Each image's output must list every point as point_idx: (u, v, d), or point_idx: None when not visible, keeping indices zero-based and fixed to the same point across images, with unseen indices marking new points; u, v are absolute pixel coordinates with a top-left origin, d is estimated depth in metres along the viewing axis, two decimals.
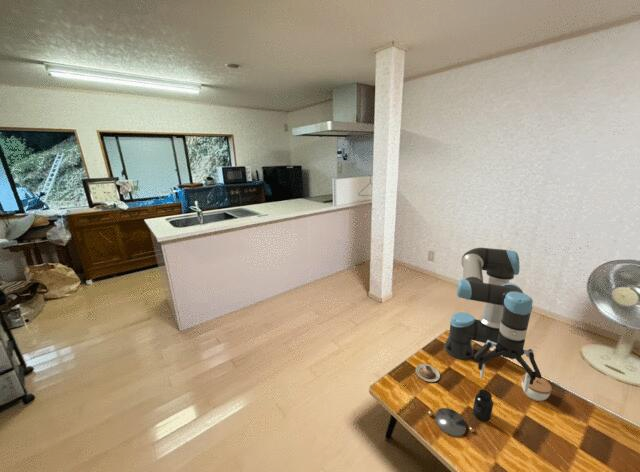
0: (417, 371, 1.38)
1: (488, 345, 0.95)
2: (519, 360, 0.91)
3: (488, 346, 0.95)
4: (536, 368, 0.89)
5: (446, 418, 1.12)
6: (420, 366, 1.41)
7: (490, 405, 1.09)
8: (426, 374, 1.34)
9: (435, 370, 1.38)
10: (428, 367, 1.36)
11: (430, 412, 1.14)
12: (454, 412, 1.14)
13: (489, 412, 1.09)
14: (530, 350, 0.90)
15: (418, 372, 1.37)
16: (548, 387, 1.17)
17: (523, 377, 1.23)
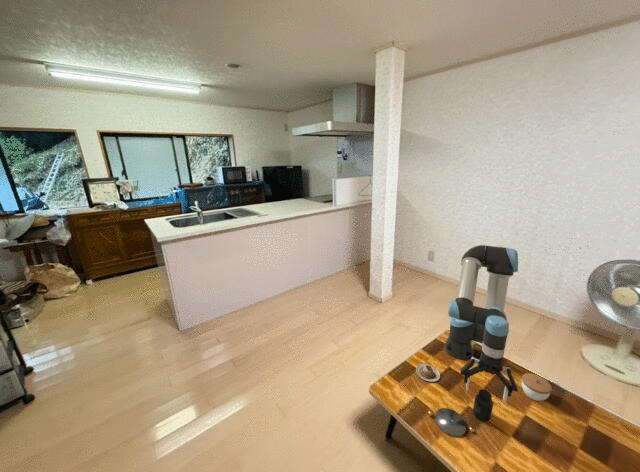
0: (417, 371, 1.38)
1: (472, 361, 1.08)
2: (498, 375, 1.04)
3: (472, 362, 1.08)
4: (513, 382, 1.03)
5: (446, 418, 1.12)
6: (420, 366, 1.41)
7: (490, 405, 1.09)
8: (426, 374, 1.34)
9: (436, 370, 1.38)
10: (428, 367, 1.36)
11: (430, 412, 1.14)
12: (454, 412, 1.14)
13: (489, 412, 1.09)
14: (508, 367, 1.04)
15: (418, 372, 1.38)
16: (548, 387, 1.17)
17: (523, 377, 1.23)
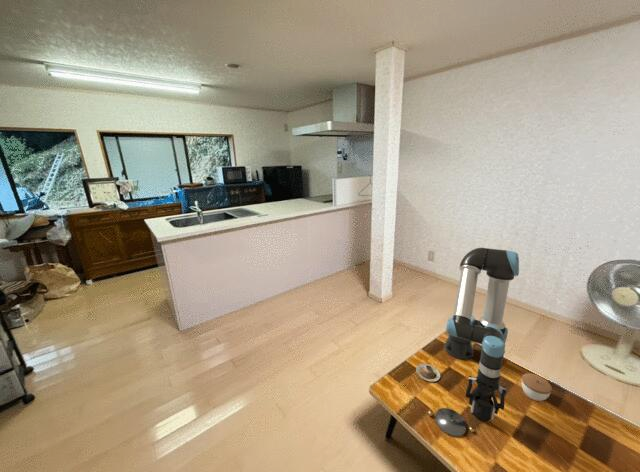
0: (417, 371, 1.38)
1: (470, 382, 1.11)
2: (492, 394, 1.07)
3: (470, 383, 1.11)
4: (503, 402, 1.07)
5: (446, 418, 1.12)
6: (420, 366, 1.41)
7: (490, 405, 1.09)
8: (426, 374, 1.35)
9: (436, 370, 1.38)
10: (428, 367, 1.36)
11: (430, 412, 1.14)
12: (454, 412, 1.14)
13: (489, 412, 1.09)
14: (504, 387, 1.07)
15: (418, 372, 1.38)
16: (548, 387, 1.17)
17: (523, 377, 1.23)
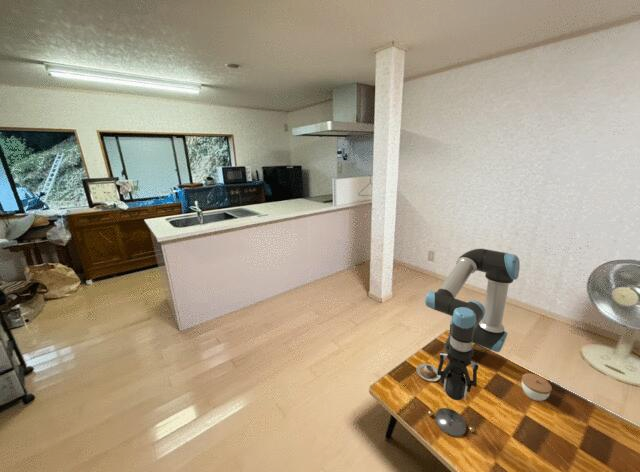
0: (418, 371, 1.38)
1: (441, 358, 1.04)
2: (464, 370, 1.00)
3: (441, 359, 1.04)
4: (475, 378, 1.00)
5: (446, 418, 1.12)
6: (421, 366, 1.41)
7: (462, 382, 1.01)
8: (427, 374, 1.35)
9: (436, 370, 1.38)
10: (429, 367, 1.36)
11: (430, 412, 1.14)
12: (454, 412, 1.14)
13: (461, 390, 1.02)
14: (476, 363, 0.99)
15: (419, 372, 1.38)
16: (548, 387, 1.17)
17: (523, 377, 1.23)
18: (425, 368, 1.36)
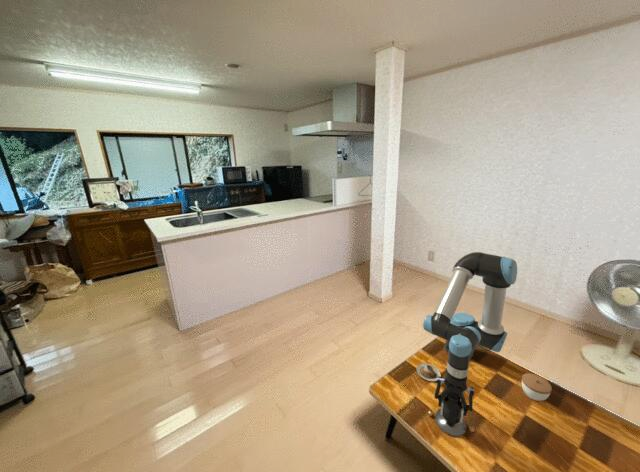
0: (418, 371, 1.38)
1: (438, 382, 1.08)
2: (460, 395, 1.04)
3: (438, 383, 1.08)
4: (471, 403, 1.03)
5: None
6: (421, 365, 1.42)
7: (458, 407, 1.05)
8: (427, 373, 1.35)
9: (436, 370, 1.38)
10: (429, 366, 1.36)
11: (430, 412, 1.14)
12: None
13: (457, 414, 1.06)
14: (472, 388, 1.03)
15: (419, 372, 1.38)
16: (548, 387, 1.17)
17: (523, 377, 1.23)
18: (425, 368, 1.36)
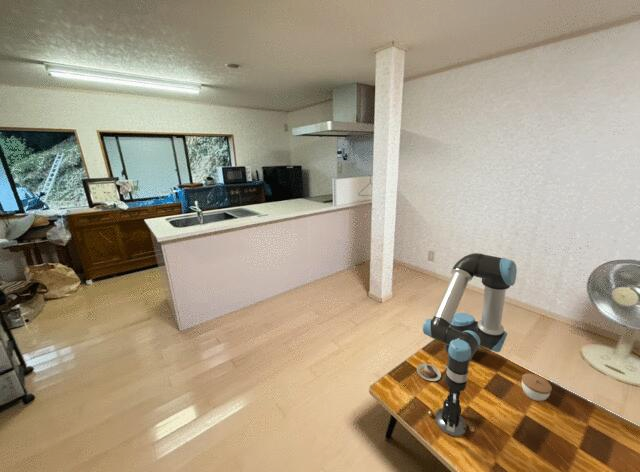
0: (418, 370, 1.38)
1: None
2: (449, 397, 1.05)
3: None
4: (449, 411, 1.01)
5: None
6: (421, 365, 1.42)
7: (446, 406, 1.08)
8: (427, 373, 1.35)
9: (437, 369, 1.39)
10: (429, 366, 1.36)
11: (430, 412, 1.14)
12: None
13: (444, 412, 1.09)
14: (456, 398, 1.00)
15: (419, 371, 1.38)
16: (548, 387, 1.17)
17: (523, 377, 1.23)
18: (425, 368, 1.37)
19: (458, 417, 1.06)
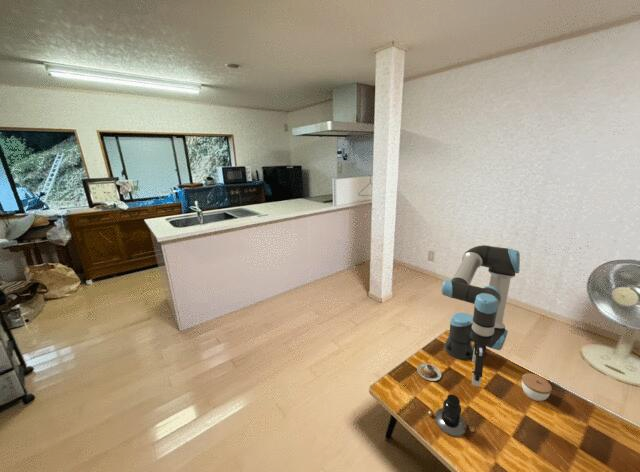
0: (419, 370, 1.38)
1: None
2: (474, 352, 1.04)
3: None
4: (475, 364, 1.00)
5: None
6: (421, 365, 1.42)
7: (446, 406, 1.08)
8: (428, 373, 1.35)
9: (437, 369, 1.39)
10: (429, 366, 1.36)
11: (430, 412, 1.14)
12: None
13: (444, 412, 1.09)
14: (482, 351, 0.99)
15: (420, 371, 1.38)
16: (548, 387, 1.17)
17: (523, 377, 1.23)
18: (426, 368, 1.37)
19: (458, 417, 1.06)
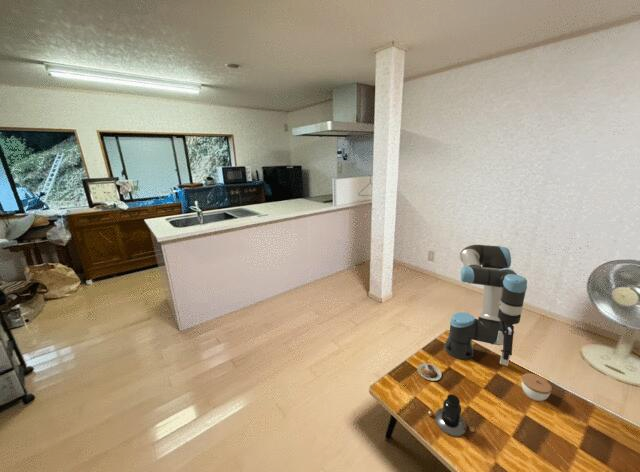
0: (419, 370, 1.38)
1: None
2: (502, 331, 1.07)
3: None
4: (504, 343, 1.03)
5: None
6: (422, 365, 1.42)
7: (446, 406, 1.08)
8: (428, 373, 1.35)
9: (437, 369, 1.39)
10: (430, 366, 1.36)
11: (430, 412, 1.14)
12: None
13: (444, 412, 1.09)
14: (511, 329, 1.03)
15: (420, 371, 1.38)
16: (548, 387, 1.17)
17: (523, 377, 1.23)
18: (426, 367, 1.37)
19: (458, 417, 1.06)
